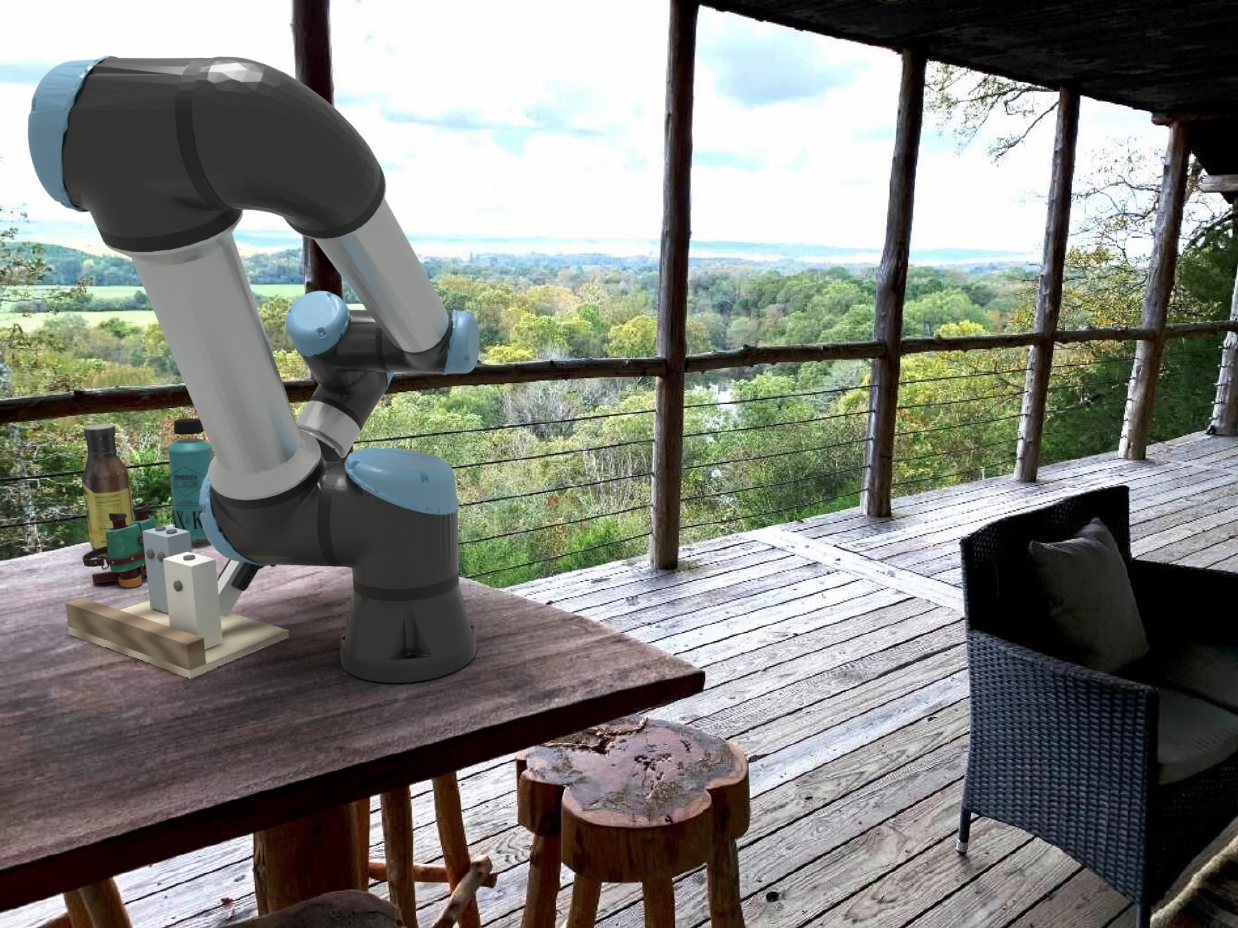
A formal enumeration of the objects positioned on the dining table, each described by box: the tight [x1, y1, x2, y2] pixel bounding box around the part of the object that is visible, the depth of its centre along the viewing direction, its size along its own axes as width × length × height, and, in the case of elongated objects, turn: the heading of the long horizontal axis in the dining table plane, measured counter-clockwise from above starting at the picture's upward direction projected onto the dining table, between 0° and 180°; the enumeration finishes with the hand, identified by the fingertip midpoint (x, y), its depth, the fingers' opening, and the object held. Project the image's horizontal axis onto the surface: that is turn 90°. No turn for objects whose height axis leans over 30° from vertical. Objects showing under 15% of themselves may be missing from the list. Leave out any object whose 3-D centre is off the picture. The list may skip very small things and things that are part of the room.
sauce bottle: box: [81, 423, 136, 558], centre depth 137 cm, size 7×6×20 cm
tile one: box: [163, 552, 223, 649], centre depth 103 cm, size 5×3×10 cm, turn 60°
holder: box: [65, 597, 290, 680], centre depth 108 cm, size 23×13×4 cm, turn 60°
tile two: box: [142, 525, 193, 613], centre depth 113 cm, size 5×3×10 cm, turn 60°
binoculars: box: [82, 501, 157, 588], centre depth 127 cm, size 9×11×10 cm
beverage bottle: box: [167, 417, 213, 541], centre depth 143 cm, size 6×7×20 cm
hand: (214, 611), depth 106 cm, fingers closed
